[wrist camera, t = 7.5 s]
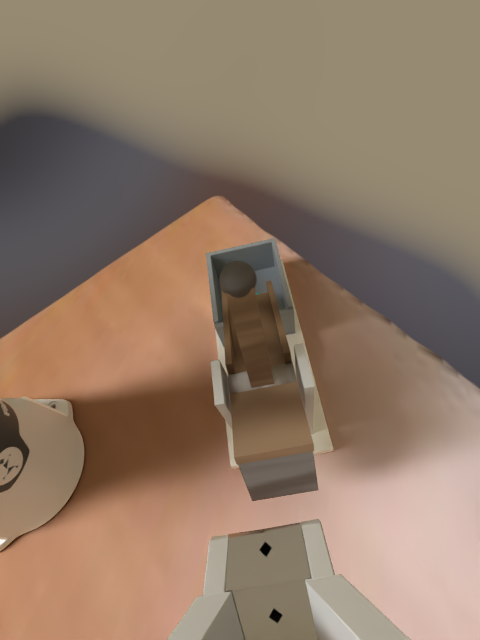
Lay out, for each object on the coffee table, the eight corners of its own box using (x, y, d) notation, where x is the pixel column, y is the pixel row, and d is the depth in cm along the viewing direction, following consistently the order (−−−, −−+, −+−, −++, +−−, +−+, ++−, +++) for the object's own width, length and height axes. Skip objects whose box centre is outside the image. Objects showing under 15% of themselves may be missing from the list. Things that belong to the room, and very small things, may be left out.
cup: (295, 333, 48) (293, 309, 43) (223, 347, 49) (213, 325, 44) (277, 265, 55) (274, 238, 50) (215, 278, 56) (206, 253, 50)
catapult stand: (332, 451, 41) (345, 406, 26) (232, 468, 41) (193, 434, 27) (282, 264, 57) (274, 174, 42) (211, 280, 57) (179, 196, 43)
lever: (319, 489, 29) (297, 317, 18) (251, 501, 29) (187, 340, 18) (280, 335, 45) (255, 192, 33) (236, 344, 45) (197, 206, 34)
